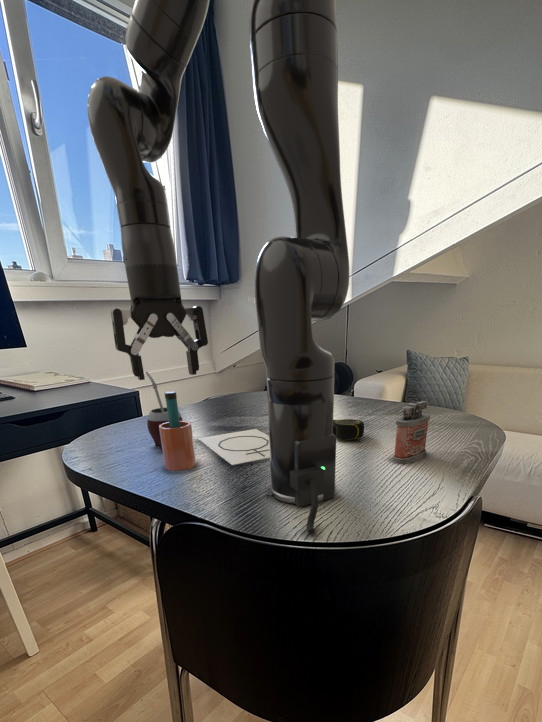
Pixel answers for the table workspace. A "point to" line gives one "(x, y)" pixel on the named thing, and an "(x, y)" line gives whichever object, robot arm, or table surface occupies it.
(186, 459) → the pen cup
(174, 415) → the pen
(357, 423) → the tape measure
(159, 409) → the mate gourd
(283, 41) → the robot arm
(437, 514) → the table surface
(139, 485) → the table surface
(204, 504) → the table surface
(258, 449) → the sketch pad
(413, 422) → the lighter
